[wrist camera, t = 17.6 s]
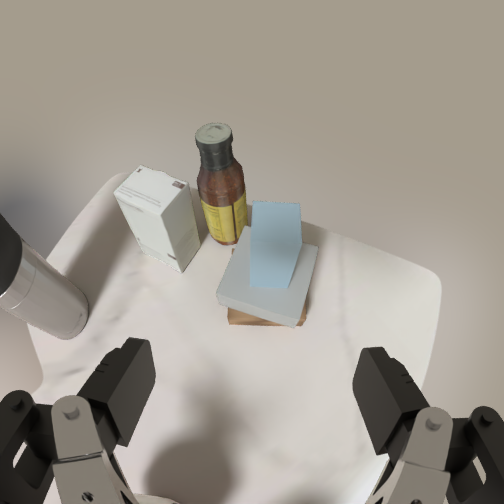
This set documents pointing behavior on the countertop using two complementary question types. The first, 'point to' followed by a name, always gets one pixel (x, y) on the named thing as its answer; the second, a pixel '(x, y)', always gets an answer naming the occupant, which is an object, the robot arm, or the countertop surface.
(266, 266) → the blue block
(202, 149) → the sauce bottle
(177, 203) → the skincare box
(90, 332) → the countertop surface
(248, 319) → the block bottom
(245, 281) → the block top
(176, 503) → the potted plant
